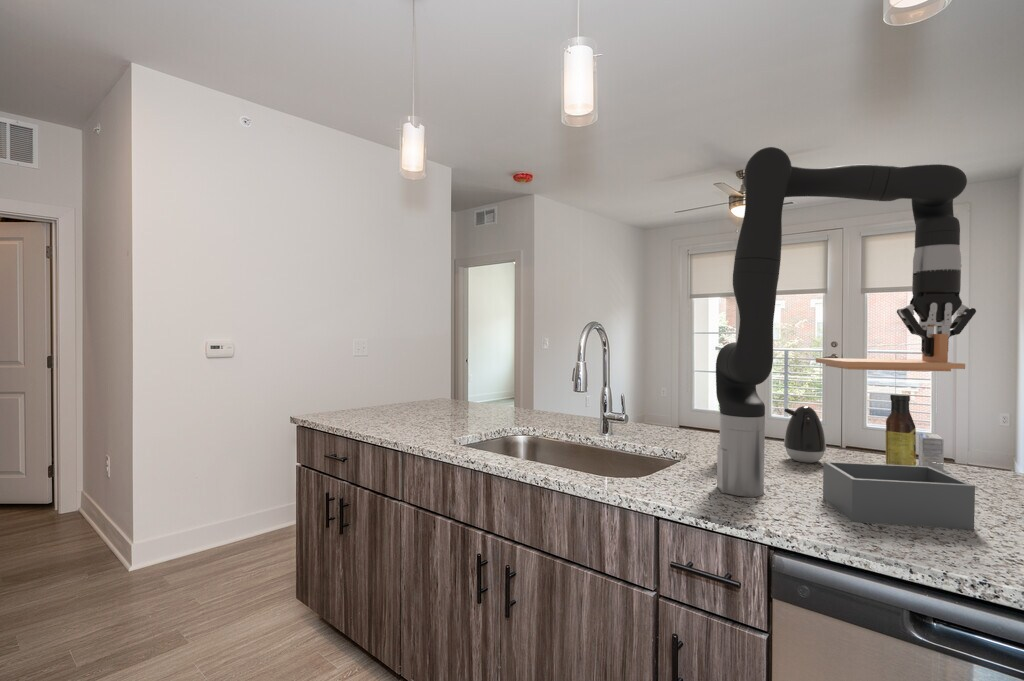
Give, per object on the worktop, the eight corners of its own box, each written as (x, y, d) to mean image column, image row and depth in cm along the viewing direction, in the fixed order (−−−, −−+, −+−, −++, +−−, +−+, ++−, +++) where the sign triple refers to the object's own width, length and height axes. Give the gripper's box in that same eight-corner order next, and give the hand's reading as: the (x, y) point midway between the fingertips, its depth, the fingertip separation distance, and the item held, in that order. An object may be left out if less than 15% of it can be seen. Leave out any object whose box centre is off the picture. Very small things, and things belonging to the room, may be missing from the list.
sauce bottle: (921, 476, 131) (922, 396, 131) (892, 474, 132) (894, 395, 132) (906, 469, 137) (908, 393, 137) (880, 468, 139) (881, 392, 138)
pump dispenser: (778, 455, 152) (779, 403, 152) (817, 457, 150) (818, 404, 150) (789, 464, 142) (790, 408, 142) (831, 466, 140) (832, 409, 140)
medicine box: (943, 473, 134) (944, 439, 134) (921, 470, 136) (922, 437, 136) (938, 466, 141) (939, 434, 141) (917, 464, 143) (918, 432, 143)
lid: (842, 369, 102) (843, 333, 102) (815, 365, 117) (816, 333, 117) (965, 372, 98) (965, 334, 98) (921, 367, 112) (922, 334, 112)
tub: (851, 521, 99) (852, 479, 99) (822, 498, 113) (823, 461, 112) (974, 530, 95) (975, 485, 95) (928, 505, 109) (929, 466, 109)
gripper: (963, 271, 108) (961, 356, 108) (888, 272, 110) (887, 355, 111) (988, 267, 100) (986, 358, 100) (907, 268, 103) (905, 356, 103)
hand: (934, 356), depth 105 cm, fingers closed on lid, 1 cm apart
